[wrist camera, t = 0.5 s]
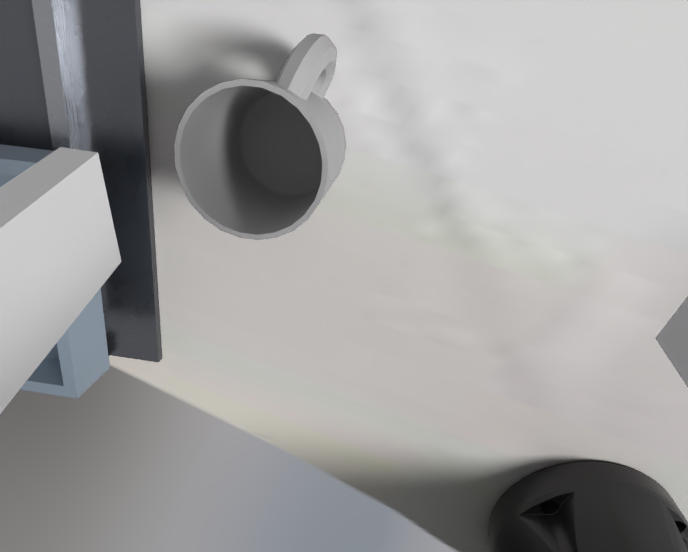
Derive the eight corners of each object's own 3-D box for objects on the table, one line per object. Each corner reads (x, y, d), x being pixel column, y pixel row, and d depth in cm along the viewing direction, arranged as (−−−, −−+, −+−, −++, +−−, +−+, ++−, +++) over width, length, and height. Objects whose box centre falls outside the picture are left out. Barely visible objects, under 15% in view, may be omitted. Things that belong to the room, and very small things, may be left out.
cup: (219, 165, 30) (153, 194, 22) (283, 12, 26) (232, -24, 18) (315, 218, 31) (286, 265, 23) (391, 76, 27) (389, 70, 19)
